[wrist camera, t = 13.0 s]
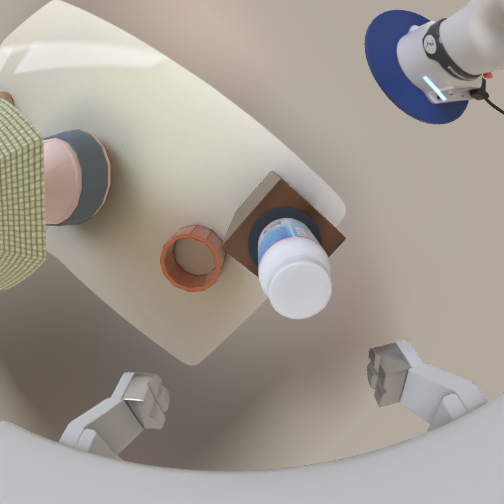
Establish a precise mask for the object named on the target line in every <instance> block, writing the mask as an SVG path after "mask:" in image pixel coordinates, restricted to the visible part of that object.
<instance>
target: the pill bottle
mask: <svg viewBox="0 0 504 504" xmlns="http://www.w3.org/2000/svg"><path fill="white" fill-rule="evenodd" d="M258 275H259V282H260V285H261V287H262V290H263V291H264V293H265V294H266V296H267V297H268V298H269V299H270V302H271V304H272V306H273V307H274V309H275V310H276V311H277V312H278V313H280V314H281V315H283V316H285V317H288V318H292V319H304V318H308V317H311V316H313V315H315V314H317V313H318V312H320V311H321V310H322V309H323V308H324V307H325V306H326V305H327V303H328V301H329V299H330V297H331V294H332V282H331V279H330V278H331V264H330V260H329V258H328V256H327V254H326V252H325V251H324V249H323V248H322V246H321V245H320V244H319V242H318V241H317V239H316V238H315V237H314V235H313V234H312V232H311V231H310V230H309V228H308V227H307V226H306V225H305V224H303V223H302V222H300V221H298V220H296V219H292V218H282V219H278V220H275V221H273V222H271V223H270V224H269V225H267V226H266V227H265V228H264V230H263V231H262V233H261V235H260V237H259V241H258Z"/></svg>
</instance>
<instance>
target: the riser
mask: <svg viewBox="0 0 504 504" xmlns="http://www.w3.org/2000/svg"><path fill="white" fill-rule="evenodd" d="M280 207H291V208H295V209H298V210H301V211H303V212H304V213H306V214H307V215H309V216H310V217H311V218H312V219H313V221H314V222H315V223H316V225H317V227H318V229H319V231H320V235H321V246H322V248H323V249H324V251H325V252H326V254H327V256H328V257H329V256H330V255H331V254H332V253H333V252H334V251H335V250H336V249H337V248H338V247H339V246H340V245H341V243H342V242H343V241H344V240H345V239H346V238H345V237H344V236H343V235H342V234H341V233H340V232H339V231H338V230H337V229H336V228H335V227H334V226H333V225H332V224H331V223H330V222H329V221H328V220H327V219H326V218H325V217H324V216H323V215H322V214H320V213H319V212H318V211H317V210H316V209H315V208H314V207H313V206H312V205H311V204H310V203H309V202H308V201H306V200H305V199H304V198H303V197H302V196H301V195H300V194H299V193H298V192H296V191H295V190H294V189H293V188H292V187H291V186H290V185H289V184H287V183H286V182H285V181H284V180H283V179H282V178H280V177H279V176H278V175H277V174H276V173H275V172H273V171H271V172H270V173H269V174H268V175H267V177H266V178H265V179H264V180H263V181H262V182H261V183H260V185H259V186H258V187H257V188H256V189H255V190H254V192H253V193H252V194H251V195H250V196H249V197H248V198H247V200H246V201H245V202H244V203H243V204H242V205H241V207H240V208H239V209H238V210H237V211H236V213H235V215H234V217H233V219H232V222H231V224H230V227H229V229H228V231H227V234H226V236H225V239H224V241H223V244H222V246H221V248H222V249H223V250H225V251H226V252H227V253H228V254H230V255H231V256H232V257H233V258H235V259H236V260H237V261H239V262H240V263H241V264H242V265H244V266H245V267H246V268H247V269H249V270H250V271H251V272H253V273H254V274H255V275H256V276H258V277H259V275H258V267H257V266H256V265H255V264H254V262H253V261H252V259H251V257H250V254H249V249H248V238H249V233H250V230H251V228H252V226H253V224H254V223H255V222H256V220H257V219H258V218H259V217H260V216H261V215H263V214H264V213H266V212H267V211H269V210H272V209H275V208H280Z"/></svg>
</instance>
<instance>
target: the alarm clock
mask: <svg viewBox="0 0 504 504" xmlns="http://www.w3.org/2000/svg"><path fill="white" fill-rule="evenodd" d="M0 98H2V99H4V100H6V101H8V102H9V103H11V104H12V105H13V100H12V98H11V96H10V95H9V94H8V93H5V92H0ZM13 106H14V105H13Z"/></svg>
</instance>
